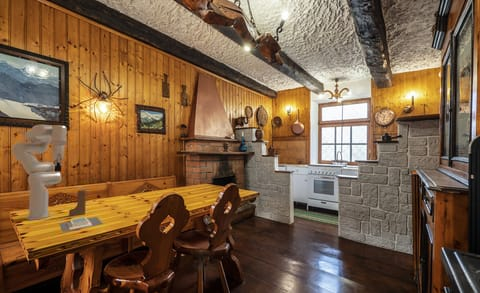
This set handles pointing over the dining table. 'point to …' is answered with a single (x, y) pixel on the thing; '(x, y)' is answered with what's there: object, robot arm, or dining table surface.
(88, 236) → the dining table surface
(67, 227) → the mat
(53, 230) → the dining table surface
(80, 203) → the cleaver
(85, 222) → the deck
